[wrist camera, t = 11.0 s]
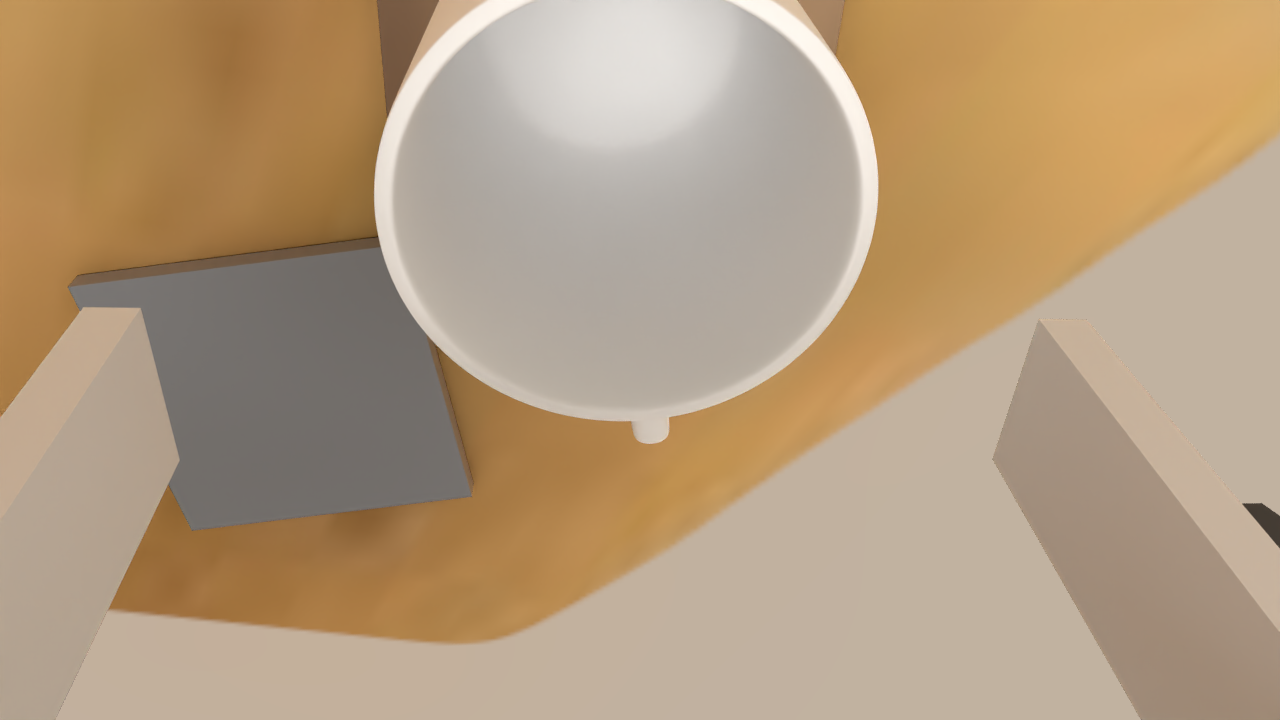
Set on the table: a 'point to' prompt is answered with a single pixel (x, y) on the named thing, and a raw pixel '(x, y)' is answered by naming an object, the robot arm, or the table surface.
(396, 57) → the walnut coaster
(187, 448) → the slate coaster
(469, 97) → the mug
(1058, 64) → the table surface
